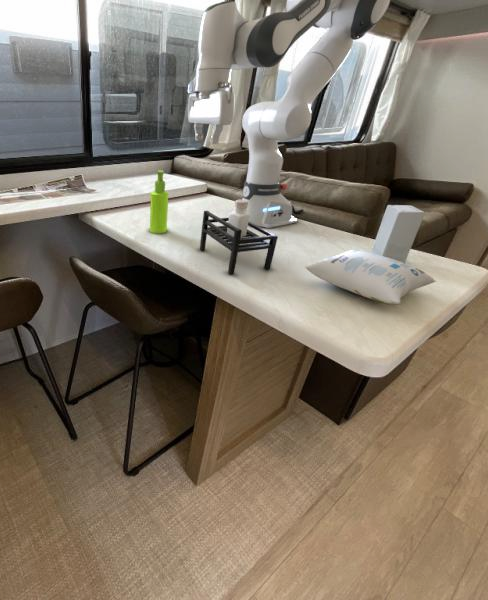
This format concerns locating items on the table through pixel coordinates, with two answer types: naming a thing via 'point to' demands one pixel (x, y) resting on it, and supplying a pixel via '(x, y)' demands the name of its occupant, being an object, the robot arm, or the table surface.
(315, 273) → the pouch
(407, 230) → the cosmetic box
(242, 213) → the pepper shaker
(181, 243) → the table surface
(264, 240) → the rack
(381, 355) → the table surface
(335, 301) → the table surface
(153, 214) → the soap dispenser
